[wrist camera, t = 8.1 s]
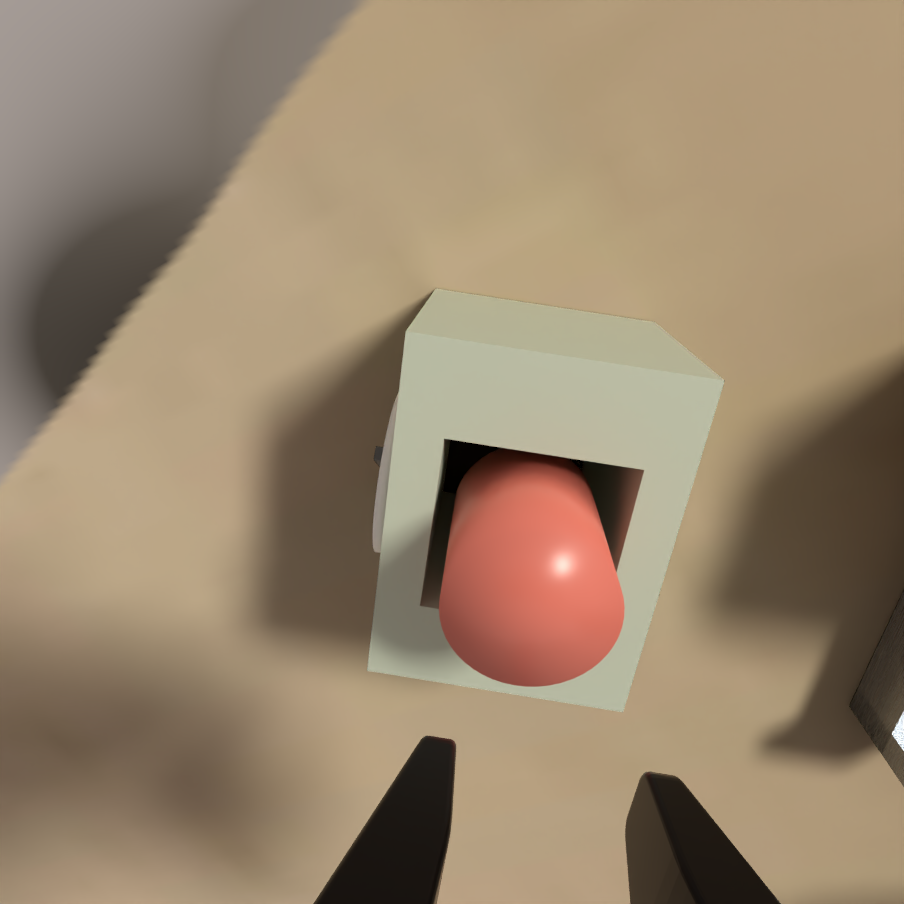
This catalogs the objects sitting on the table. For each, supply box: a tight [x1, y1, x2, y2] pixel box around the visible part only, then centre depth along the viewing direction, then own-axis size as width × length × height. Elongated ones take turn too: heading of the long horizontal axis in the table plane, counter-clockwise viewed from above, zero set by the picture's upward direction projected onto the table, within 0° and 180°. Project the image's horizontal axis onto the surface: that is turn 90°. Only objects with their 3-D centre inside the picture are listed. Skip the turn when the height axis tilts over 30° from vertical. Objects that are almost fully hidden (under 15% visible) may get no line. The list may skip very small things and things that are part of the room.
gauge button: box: [439, 448, 625, 687], centre depth 13 cm, size 3×3×4 cm
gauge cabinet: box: [367, 289, 725, 712], centre depth 16 cm, size 8×6×6 cm
